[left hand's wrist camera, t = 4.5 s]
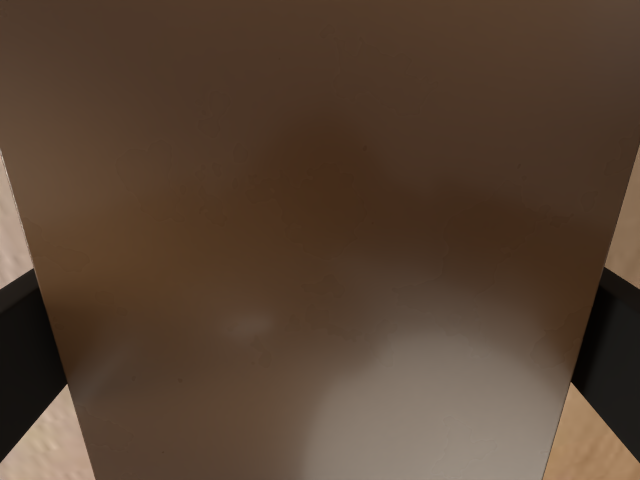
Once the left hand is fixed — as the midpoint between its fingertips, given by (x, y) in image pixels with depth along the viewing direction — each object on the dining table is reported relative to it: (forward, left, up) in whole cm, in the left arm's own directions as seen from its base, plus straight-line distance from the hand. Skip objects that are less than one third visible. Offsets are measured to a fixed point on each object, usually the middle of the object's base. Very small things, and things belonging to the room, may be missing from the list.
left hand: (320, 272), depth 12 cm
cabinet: (+6, +1, -4) cm, 7 cm away
